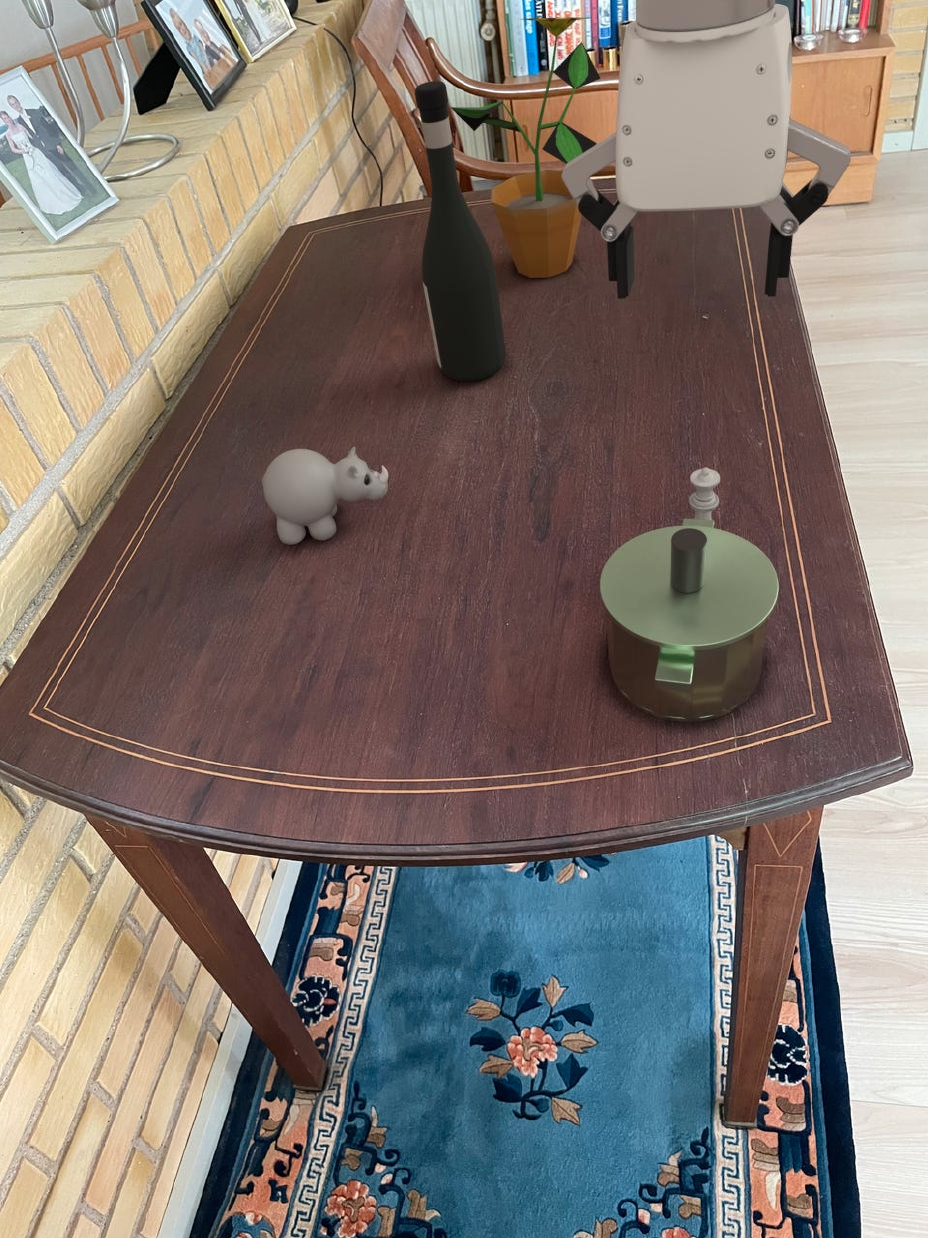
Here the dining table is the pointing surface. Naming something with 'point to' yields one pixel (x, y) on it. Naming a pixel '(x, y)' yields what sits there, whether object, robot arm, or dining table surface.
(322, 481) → the toy rhinoceros
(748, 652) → the pot
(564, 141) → the potted plant
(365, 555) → the dining table surface
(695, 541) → the pot lid
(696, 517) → the chess piece
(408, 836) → the dining table surface
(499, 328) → the wine bottle
